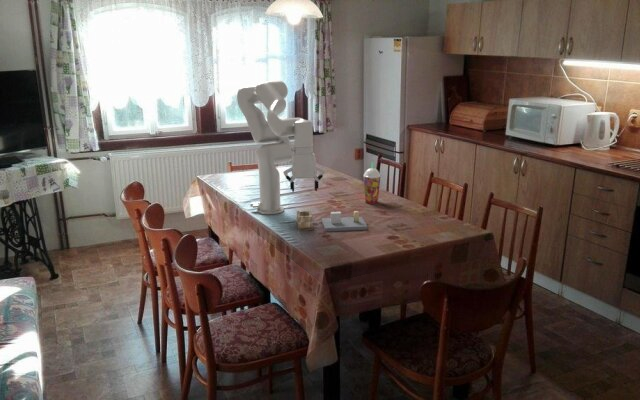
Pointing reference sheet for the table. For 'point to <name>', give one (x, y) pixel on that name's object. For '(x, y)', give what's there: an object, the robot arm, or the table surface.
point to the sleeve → (304, 220)
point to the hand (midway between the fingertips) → (304, 190)
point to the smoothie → (371, 185)
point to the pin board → (343, 222)
